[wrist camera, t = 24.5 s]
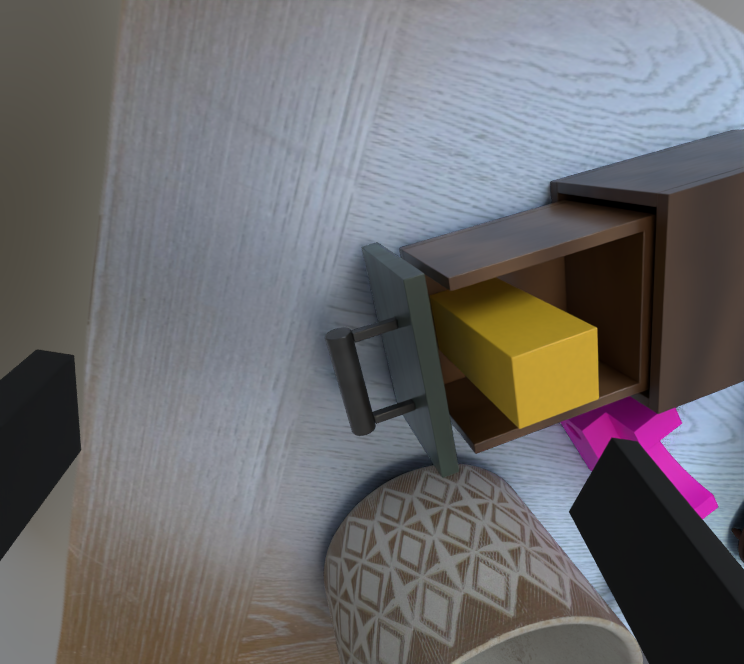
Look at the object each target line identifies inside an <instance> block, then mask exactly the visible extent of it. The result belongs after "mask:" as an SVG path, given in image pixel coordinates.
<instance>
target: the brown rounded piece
mask: <svg viewBox="0 0 744 664" xmlns="http://www.w3.org/2000/svg"><path fill="white" fill-rule="evenodd" d="M732 532H733V534H734V535H735V537H736V538H737V539H738V540H739V545H738V552H739V556H740V558H741V560H742V561H743V563H744V528H743V530H740V529H737V528H732Z"/></svg>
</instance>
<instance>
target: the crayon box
mask: <svg viewBox="0 0 744 664" xmlns="http://www.w3.org/2000/svg"><path fill="white" fill-rule="evenodd" d="M430 302H431V307H432V312H433V318H434V323H435V329H436V334H437V339H438V345H439V350H440V351H441V352H442V353H443V354H444V355H445V356H446V357H447V358H448V359H449V360H450V361H451V362H452V363H453V364H454V365H455V366H456V367H457V368H458V369H459V370H460V371H461V372H462V373H463V374H464V375H465V376H466V377H467V378H468V379H469V380H470V381H471V382H472V383H473V384H474V385H475V386H476V387H477V388H478V389H479V390H480V391H481V392H482V393H483V394H484V395H485V396H486V397H487V398H488V399H490V400H491V401H492V402H493V403H494V404H495V405H496V406H497V407H498V408H499V409H500V410H501V411H502V412H503V413H504V414H505V415H506V416H507V417H508V418H509V419H510V420H511V421H512V422H513V423H514V424H515V425H516V426H517V427H518V428H519V429H522V428H524V427H527V426H529V425H532V424H535V423H537V422H540V421H543V420H545V419H548V418H550V417H553V416H556V415H558V414H561V413H564V412H566V411H569V410H571V409H574V408H577V407H579V406H582V405H585V404H587V403H590V402H592V401H595V400H598V399H599V380H598V338H597V328H596V327H594V326H592V325H590V324H588V323H586V322H584V321H582V320H580V319H578V318H576V317H574V316H572V315H570V314H568V313H566V312H564V311H562V310H560V309H558V308H556V307H554V306H552V305H550V304H548V303H546V302H544V301H542V300H540V299H538V298H536V297H534V296H532V295H530V294H528V293H526V292H524V291H522V290H520V289H518V288H516V287H514V286H512V285H510V284H508V283H506V282H504V281H502V280H500V279H498V278H496V277H495V278H492V279H489V280H486V281H482V282H479V283H476V284H473V285H470V286H466V287H463V288H460V289H457V290H454V291H449V290H446V291H442V292H439V293H436V294H433V295H430Z"/></svg>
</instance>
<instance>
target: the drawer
mask: <svg viewBox="0 0 744 664" xmlns="http://www.w3.org/2000/svg"><path fill="white" fill-rule="evenodd" d="M655 219H656V215H655V214H650V213H643V212H637V211H631V210H625V209H619V208H612V207H606V206H600V205H594V204H588V203H581V202H575V201H568V200H562V201H559V202H555V203H552V204H548V205H545V206H541V207H538V208H535V209H531V210H528V211H524V212H521V213H517V214H514V215H510V216H507V217H504V218H500V219H497V220H493V221H490V222H486V223H483V224H479V225H476V226H473V227H469V228H466V229H462V230H459V231H455V232H452V233H448V234H445V235H442V236H438V237H435V238H431V239H428V240H424V241H421V242H417V243H414V244H411V245H407V246H404V247H400V248H399V250H400V255H401V258H400V257H399V256H397V255H396V254H394V253H393V252H391V251H390V250H388V249H387V248H385V247H384V246H382V245H381V244H379V243H378V242H377V243H373V244H370V245H366V246H363V247H361V248H362V253H363V257H364V261H365V266H366V270H367V274H368V279H369V283H370V287H371V292H372V296H373V300H374V305H375V309H376V313H377V318H378V322H377V323H373V324H370V325H367V326H364V327H361V328H357V329H354V330H350V329H349V328H345V327H343V328H337V329H334V330H331V331H329V332H328V333H327V334H326V335H325V339H326V343H327V346H328V350H329V353H330V357H331V360H332V364H333V367H334V371H335V374H336V378H337V381H338V385H339V388H340V392H341V395H342V399H343V402H344V406H345V409H346V413H347V416H348V419H349V423H350V426H351V430H352V432H353V434H355V435H358V436H364V435H367V434H369V433H371V432H372V431H373V430H374V429H375V427H376V424H377V423H380V422H383V421H386V420H388V419H391V418H394V417H397V416H400V415H403V416H404V418H405V420H406V421H407V423H408V424H409V426H410V428H411V429H412V431H413V432H414V434H415V436H416V437H417V439H418V440H419V442H420V444H421V445H422V447H423V448H424V450H425V451H426V453H427V455H428V456H429V458H430V459H431V461H432V463H433V464H434V466H435V467H436V469H437V471H438V472H439V474H440V475H441V477H442V478H445V477H447V476H450V475H453V474H455V473H458V472H459V466H458V461H457V455H456V449H455V444H454V438H453V432H452V427H451V423H452V424H453V426H454V427H455V428H456V429H457V431H458V432H459V433H460V435H461V436H462V437H463V438H464V440H465V441H466V442H467V443H468V445H469V446H470V447H471V448H472V450H473V451H474V452H475V453H476V454H477V453H480V452H482V451H485V450H488V449H490V448H493V447H496V446H498V445H501V444H504V443H506V442H509V441H512V440H514V439H517V438H520V437H522V436H525V435H527V434H530V433H533V432H535V431H538V430H541V429H543V428H546V427H549V426H551V425H554V424H557V423H559V422H562V421H565V420H567V419H570V418H573V417H575V416H578V415H581V414H583V413H586V412H589V411H591V410H594V409H597V408H599V407H602V406H605V405H607V404H610V403H613V402H615V401H618V400H621V399H623V398H626V397H629V396H631V395H634V394H637V393H639V392H642V391H645V390H648V389H649V371H650V344H651V318H652V292H653V266H654V240H655ZM495 277H496V278H498V279H500V280H502V281H504V282H506V283H508V284H510V285H512V286H514V287H516V288H518V289H520V290H522V291H524V292H526V293H528V294H530V295H532V296H534V297H536V298H538V299H540V300H542V301H544V302H546V303H548V304H550V305H552V306H554V307H556V308H558V309H560V310H562V311H564V312H566V313H568V314H570V315H572V316H574V317H576V318H578V319H580V320H582V321H584V322H586V323H588V324H590V325H592V326H594V327H596V328H597V338H598V380H599V399H598V400H595V401H592V402H590V403H587V404H585V405H582V406H579V407H577V408H574V409H571V410H569V411H566V412H564V413H561V414H558V415H556V416H553V417H550V418H548V419H545V420H543V421H540V422H537V423H535V424H532V425H529V426H527V427H524V428H522V429H519V428H518V427H517V426H516V425H515V424H514V423H513V422H512V421H511V420H510V419H509V418H508V417H507V416H506V415H505V414H504V413H503V412H502V411H501V410H500V409H499V408H498V407H497V406H496V405H495V404H494V403H493V402H492V401H491V400H490V399H488V398H487V397H486V396H485V395H484V394H483V393H482V392H481V391H480V390H479V389H478V388H477V387H476V386H475V385H474V384H473V383H472V382H471V381H470V380H469V379H468V378H467V377H466V376H465V375H464V374H463V373H462V372H461V371H460V370H459V369H458V368H457V367H456V366H455V365H454V364H453V363H452V362H451V361H450V360H449V359H448V358H447V357H446V356H445V355H444V354H443V353H442V352H441V351H440V350H439V345H438V339H437V334H436V329H435V323H434V318H433V312H432V307H431V302H430V295H433V294H436V293H439V292H442V291H446V290H449V291H454V290H457V289H460V288H463V287H466V286H470V285H473V284H476V283H479V282H482V281H486V280H489V279H492V278H495ZM380 334H381V335H382V339H383V344H384V348H385V352H386V357H387V361H388V366H389V370H390V374H391V379H392V383H393V387H394V392H395V396H396V400H397V404H394V405H391V406H388V407H385V408H383V409H380V410H377V411H374V412H372V409H371V405H370V401H369V397H368V393H367V389H366V386H365V382H364V378H363V374H362V370H361V366H360V362H359V359H358V355H357V351H356V347H355V343H354V342H358V341H361V340H364V339H367V338H371V337H374V336H377V335H380ZM375 423H376V424H375Z"/></svg>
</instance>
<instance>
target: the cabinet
mask: <svg viewBox="0 0 744 664" xmlns="http://www.w3.org/2000/svg"><path fill="white" fill-rule="evenodd" d="M551 199H552V203H555V202H559V201H562V200H568V201H575V202H581V203H588V204H594V205H600V206H606V207H612V208H619V209H625V210H631V211H637V212H643V213H650V214H655V215H656V219H655V240H654V266H653V292H652V318H651V344H650V371H649V389H648V390H645V391H642V392H639V393H637V394H634V395H631V396H630V397H632V398H633V399H635V400H637V401H638V402H640V403H641V404H643V405H644V406H646V407H648V408H649V409H651V410H652V411H654V412H655V413H657V414H660V413H663V412H665V411H668V410H670V409H673V408H676V407H678V406H681V405H683V404H686V403H688V402H691V401H694V400H696V399H699V398H701V397H704V396H707V395H709V394H712V393H714V392H717V391H719V390H722V389H725V388H727V387H730V386H732V385H735V384H738V383H740V382H743V381H744V129H743V130H731V131H728V132H724V133H720V134H717V135H713V136H710V137H706V138H703V139H699V140H696V141H692V142H689V143H685V144H681V145H678V146H674V147H671V148H667V149H664V150H660V151H657V152H653V153H649V154H646V155H642V156H639V157H635V158H632V159H628V160H625V161H621V162H617V163H614V164H610V165H607V166H603V167H600V168H596V169H593V170H589V171H586V172H582V173H578V174H575V175H571V176H568V177H564V178H561V179H557V180H554V181H551Z"/></svg>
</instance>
